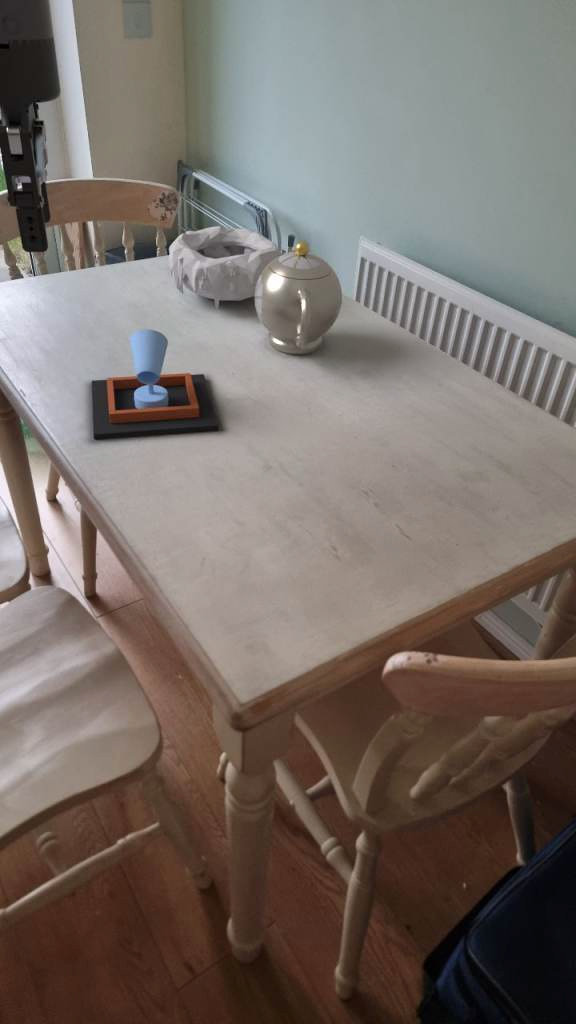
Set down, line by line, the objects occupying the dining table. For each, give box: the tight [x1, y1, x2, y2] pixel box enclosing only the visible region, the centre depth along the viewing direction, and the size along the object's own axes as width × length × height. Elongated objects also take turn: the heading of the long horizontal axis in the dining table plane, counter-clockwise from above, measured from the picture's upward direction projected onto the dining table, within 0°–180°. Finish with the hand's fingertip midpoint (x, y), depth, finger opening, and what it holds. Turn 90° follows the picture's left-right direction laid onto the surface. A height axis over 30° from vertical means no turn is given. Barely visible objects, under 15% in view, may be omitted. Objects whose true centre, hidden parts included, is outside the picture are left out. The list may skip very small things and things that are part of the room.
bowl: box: [168, 225, 283, 309], centre depth 123 cm, size 21×20×10 cm
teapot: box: [254, 241, 343, 355], centre depth 107 cm, size 18×14×16 cm
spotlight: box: [129, 329, 169, 409], centre depth 92 cm, size 5×10×7 cm
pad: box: [91, 372, 219, 440], centre depth 95 cm, size 16×14×2 cm
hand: (38, 235), depth 66 cm, fingers open, 8 cm apart
